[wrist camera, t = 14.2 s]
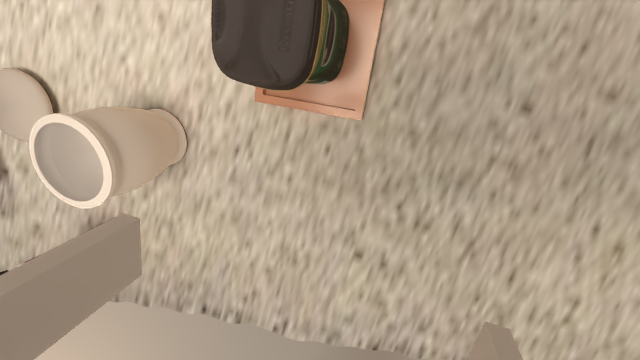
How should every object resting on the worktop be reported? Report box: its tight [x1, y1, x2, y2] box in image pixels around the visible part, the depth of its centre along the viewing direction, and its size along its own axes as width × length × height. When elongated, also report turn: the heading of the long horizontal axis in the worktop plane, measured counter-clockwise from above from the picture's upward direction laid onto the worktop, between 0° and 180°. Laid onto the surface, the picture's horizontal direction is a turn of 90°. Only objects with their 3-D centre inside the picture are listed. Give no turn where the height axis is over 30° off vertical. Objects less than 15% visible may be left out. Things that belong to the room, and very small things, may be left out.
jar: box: [29, 107, 187, 208], centre depth 40 cm, size 11×10×15 cm
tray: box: [255, 0, 385, 120], centre depth 37 cm, size 14×16×2 cm
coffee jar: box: [211, 0, 349, 91], centre depth 29 cm, size 10×8×19 cm
